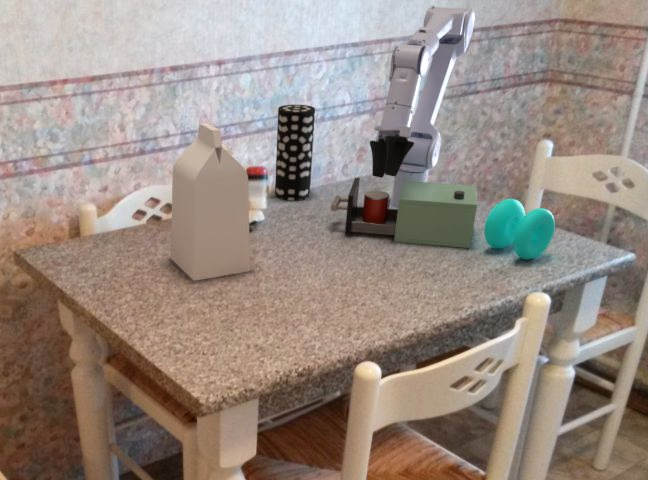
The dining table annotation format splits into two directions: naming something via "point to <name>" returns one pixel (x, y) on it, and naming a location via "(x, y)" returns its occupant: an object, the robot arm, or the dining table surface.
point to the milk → (210, 209)
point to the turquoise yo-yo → (519, 228)
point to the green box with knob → (436, 214)
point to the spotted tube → (294, 151)
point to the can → (375, 207)
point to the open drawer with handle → (356, 215)
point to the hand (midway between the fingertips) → (383, 176)
